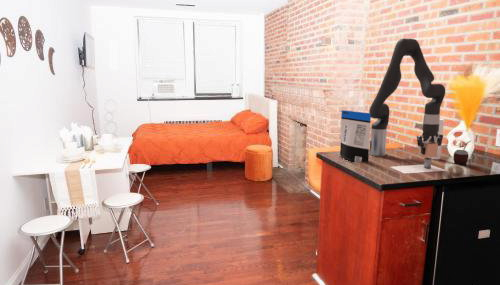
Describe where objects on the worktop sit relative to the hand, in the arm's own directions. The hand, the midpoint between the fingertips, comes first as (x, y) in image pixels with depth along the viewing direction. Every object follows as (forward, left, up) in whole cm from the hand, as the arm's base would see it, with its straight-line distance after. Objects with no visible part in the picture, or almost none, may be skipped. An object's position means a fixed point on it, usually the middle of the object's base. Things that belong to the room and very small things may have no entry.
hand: (428, 154), depth 173 cm
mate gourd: (+15, +22, -9) cm, 28 cm away
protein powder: (-40, +4, -9) cm, 42 cm away
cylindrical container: (+1, +26, -9) cm, 28 cm away
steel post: (0, 0, -8) cm, 8 cm away
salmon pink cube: (0, 0, -1) cm, 1 cm away
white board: (-5, -4, -9) cm, 11 cm away
